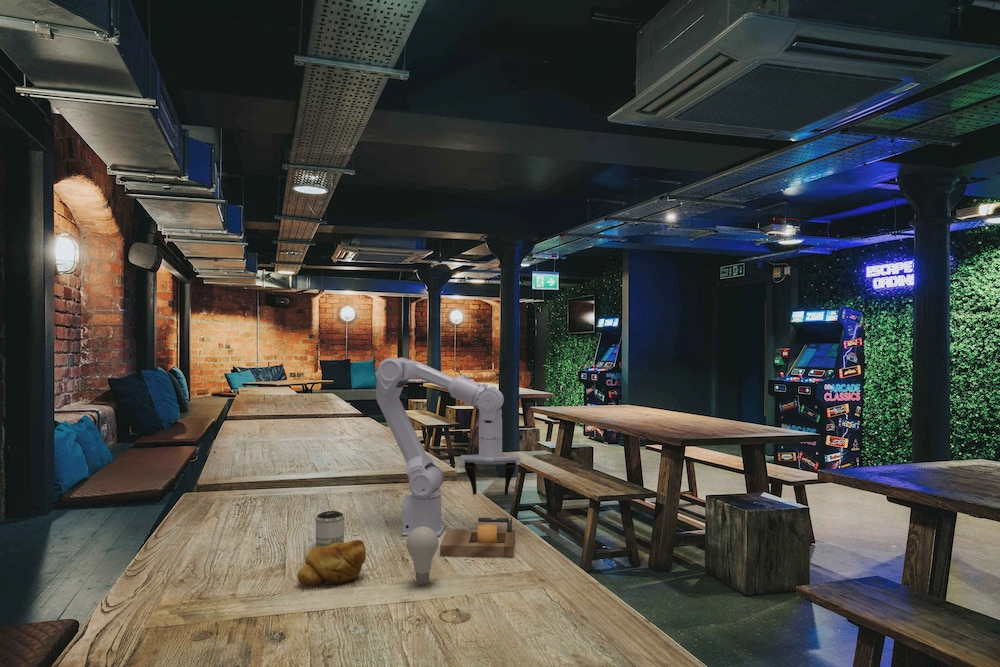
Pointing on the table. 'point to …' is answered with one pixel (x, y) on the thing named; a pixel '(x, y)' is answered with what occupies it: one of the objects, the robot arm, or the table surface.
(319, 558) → the bread roll
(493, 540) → the orange rounded capsule
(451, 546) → the brown square frame
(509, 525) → the hook
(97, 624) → the table surface
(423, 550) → the lightbulb
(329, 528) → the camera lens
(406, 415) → the robot arm
